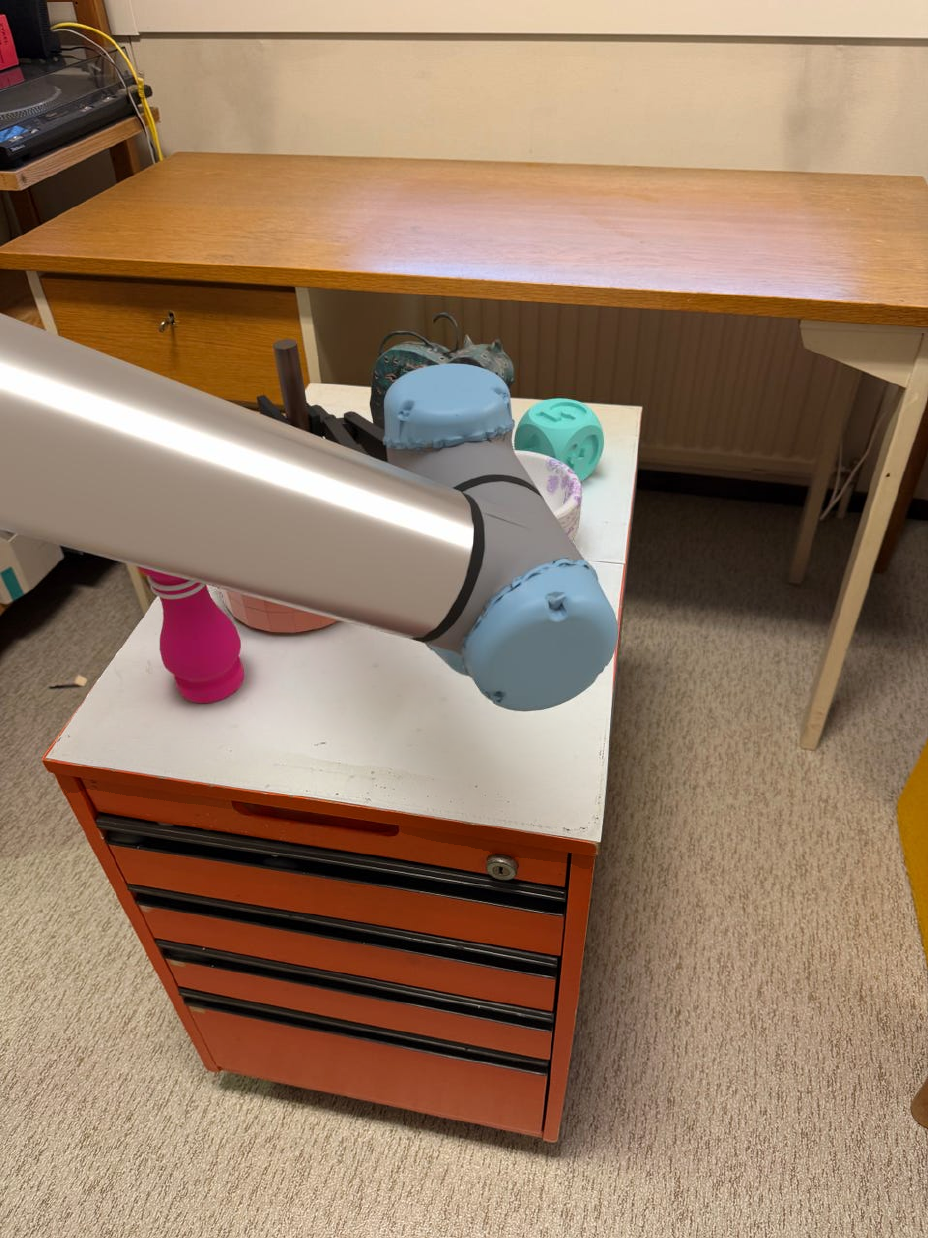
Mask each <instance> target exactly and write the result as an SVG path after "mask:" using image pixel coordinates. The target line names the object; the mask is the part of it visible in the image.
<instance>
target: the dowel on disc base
mask: <svg viewBox="0 0 928 1238" xmlns="http://www.w3.org/2000/svg"><path fill="white" fill-rule="evenodd" d="M298 347H299V346H298V342H297V340H295V339H292V338H282V339H278V340H277V341H275V342H273V344H272V348H273V354H274V360H275V365H276V369H277V370H276V371H277V375H278V381H279V386H280V391H281V397H282V402H283V408H284V409H283V410H284V413H285V414H284V415H285V417H286V418H287V419H288V420H289V421H290V422H291V424H292V426H293V427H296V428H298V429H301V430H303V431H306V432H309V433H311V434H312V431H311V425H310V419H309V413H308V407H307V403H308V402H307V396H306V389H305V383H304V377H303V371H302V364H301V359H300V353H299V348H298Z"/></svg>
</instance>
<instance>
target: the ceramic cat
mask: <svg viewBox="0 0 928 1238" xmlns="http://www.w3.org/2000/svg"><path fill="white" fill-rule="evenodd" d="M440 318H445V319H447V320H449V321H450V322H451V323H452V324H453V326H454V327H455V330H456V344H455V348H454V349H452V350H450V349H448V348H447V347H445V346H444V345H441V344H439V343H435V342H430V341H429V340H427V339H426V338H425V337H424V336H422V335H420V334H418V333H416V332H414V331H407V330H396V331H392V332H390V333H389V334H387V335H386V336H385V337H384V338H383V340H382V342H381V344H380V347H379V352H378V356H379V357H378V358H377V359H376V361H375V363H374V365H373V368H372V373H371V378H370V398H369V409H370V415H371V418H372V423H373V424H375V425H376V426H378V427H379V428H381V429H382V430H384V431H385V417H384V399H385V396H386V393H387V391H388V389H389V388H390V386H391V385H392V384H393V383H394V382H395V381H396V380H397V379H399V378H400V377H401V376H403V375H405V374H407V373H409V372H411V371H413V370H416V369H419V368H422V367H428V366H433V365H440V364H466V365H472V366H477V367H480V368H483V369H486V370H489V371H491V372H493V373H494V374H496V375H497V376H499V377H500V378H501V379H502V380H503V381H504V382H505V384H506V385H507V387H508V389H509V391H510V390H511V389H512V387H513V384H514V381H515V369H514V368H515V367H514V364H513V362H512V360H511V358H510V357H509V356H508V354H506V352H505V351H504V349H503V343H502V341H501V340H500V338H496V339H495V340H494V341H493V342H492V343H490V344H488V343H480V344H475V343H473V341H472V340H471V337H470V336H469V335H468V334H466V335H465V336H464V338H463V343H462V347H461V349H460V348H459V347H460V332H459V331H460V330H459V326H458V324H457V323H458V322H457V321H456V320H455V319H454V317H453V316H452V315H450V314H449V313H448V312H441V313H439V314H437V315H436V316H434V319H433V323H434V324H436V322H437V321H438V320H439V319H440ZM395 336H413V337H415V338H417V339H419V340H421V341H420V342H418V341H412V340H408V341H407V340H406V341H404V342H400V343H398V344H395V345H393V346H392V347H390V348H389V349H388V350H386V351H384V352H383V349H384V346H385V344H386V343H387V342H388V341H389V340H390V339H392V338H393V337H395Z"/></svg>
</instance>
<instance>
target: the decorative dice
mask: <svg viewBox="0 0 928 1238" xmlns="http://www.w3.org/2000/svg"><path fill="white" fill-rule="evenodd" d="M602 426H603V425H602V424H601V422H600V420H599V418H598V416H597V415H596V414H595V412H594V411H593V410H592V409H591V408H590V407H589V406H588V405H587V404H585V403H583V402H581V401H578V400H575V399H570V398H559V397H558V398H549V399H545V400H541V401H539V402H536V403H535V404H533V405H532V406H531V407H529V409H527V410H526V411H525V413H524V414H523V415H522V417H521V419H520V420H519V422H518V424H517V426H516V429H515V432H514V440H513V445H514V446H513V448H514V450H520V451H529V452H535V453H539V454H543V455H546V456H549V457H552V458H554V459H556V460H558V461H560V462H562V463H564V464H565V465H567V466H568V467H569V468H570V469H572V470H573V471H574V472H575V474H576V475H577V477H578V479H579V480H580V482H583V481H584V480H586V479H587V478H588V477H589V476H590V475H591V474H592V473H593V472H594V470H595V469H596V467H597V466H598V464H599V462H600V460H601V458H602V456H603V452H604V448H605V447H604V446H605V434H604V430H603V427H602Z"/></svg>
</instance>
